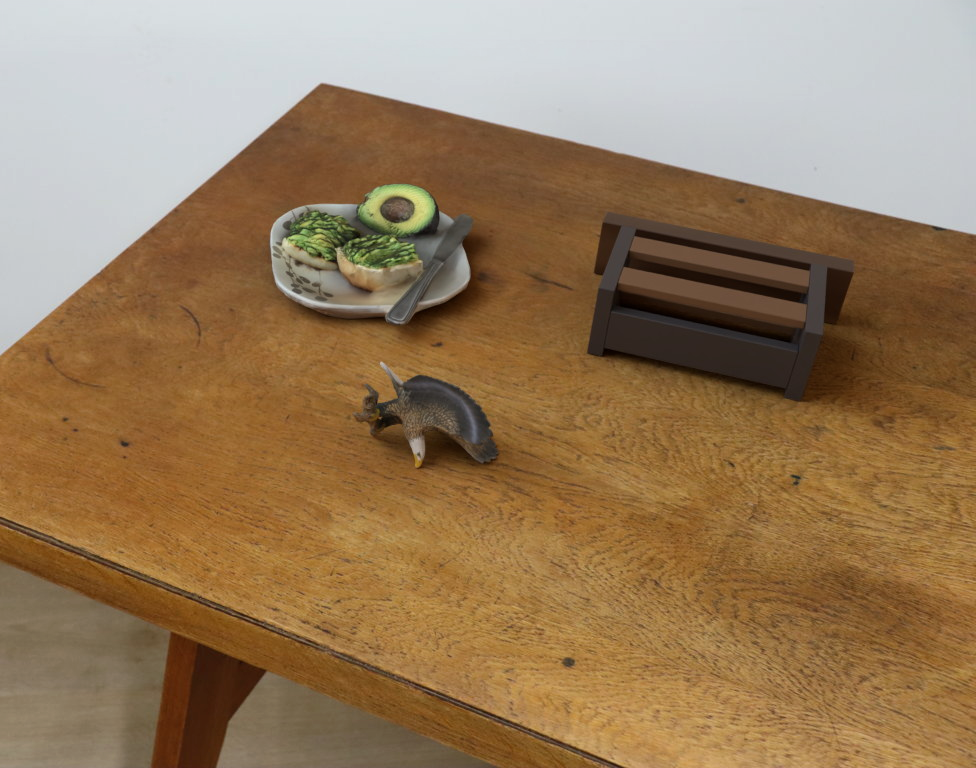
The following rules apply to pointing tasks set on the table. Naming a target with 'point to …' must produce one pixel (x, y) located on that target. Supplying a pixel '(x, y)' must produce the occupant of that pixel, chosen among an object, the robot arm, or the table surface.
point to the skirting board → (837, 267)
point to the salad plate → (371, 255)
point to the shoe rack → (710, 313)
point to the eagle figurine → (430, 415)
